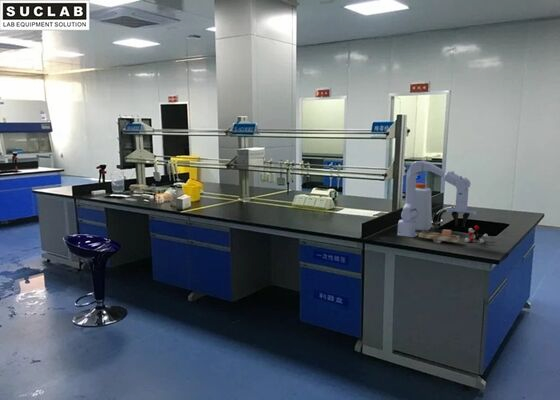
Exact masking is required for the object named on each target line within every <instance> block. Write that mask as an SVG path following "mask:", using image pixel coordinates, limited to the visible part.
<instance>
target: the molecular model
mask: <svg viewBox="0 0 560 400" xmlns="http://www.w3.org/2000/svg"><path fill="white" fill-rule="evenodd" d="M473 228H474V229H473ZM473 228H472V227H470V228H468V236H469V238H468V237H465V238H464V242H466V243H469V242H470V243H472V242H473V241H475V240H476V241H478V242H479V243H480V244H483V243H484V242H485V241H484V239H487V238H489V235H488V233H484V234H482V233H479V232H478V230H479V229H480V226H479V225H474V227H473ZM473 235H474V237H473V238H472V236H473ZM483 238H484V239H483Z"/></svg>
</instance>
